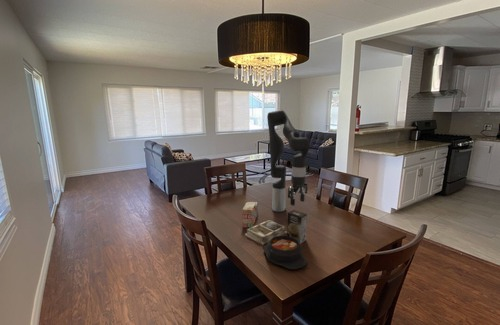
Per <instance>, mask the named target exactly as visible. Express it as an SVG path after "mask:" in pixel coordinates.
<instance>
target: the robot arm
mask: <svg viewBox="0 0 500 325" xmlns="http://www.w3.org/2000/svg"><path fill="white" fill-rule="evenodd" d="M266 119H267V126H268V133H269V154H270V177H271V178H273V179H280V180H278V181H274V182H272V195H271V196H272V198H271V199H272V200H271V201H272V202H271V204H272V205H271V206H272V207H271V209H272V211H274V212H277V213H278V212H280V213H281V212H284V211H285V210H286V209H287V207H286V206H287V201H286V200H287V198H288V199H290V205H291V206H293V207H294V206H295V204H296V203H295V202H296V197H297V196H298V194H299V195H300V197H299V200H300V202H303V203H304V202H305V196H306V194H308V183H307V182H306V180H307V179H306V173H307V169H306V165H307V164H306V163H307V156H308V154H309V152H310V151H309V150H310V146H311V142H310V140H309V138H308V137H301V136H300V132H298V130H296V128H295V127H294V126H293V124H292V123H291V121H290V119H289V117H288V115H287V114H286V111H284V110H283V109H278V110H273V111H269V112H267V118H266ZM282 125H283V128H282V134H283V136H284V137H285V139H286V140H287V141H288V145H289V149H290V150H291V151H293V152H299V153H297V154H295V155H293V156H292V160H291V161H292V162H291V163H292V164H291V165H292V166H291V177H290V178H291V181H290V182H291V185H292V186H289V187H288V189H287V197H286V178H287V167H286V165H282V164H280V165H277V164H276V163H277V162H278V160H279V159H280V158H281V157H282V155H283V153H284V150H285V148H284V146H285V144H284V140H283V139H282V137H281V136H280V135H279V134H278V133H277V131H276V129H275V128H276V127H277V126H278V127H279V126H282Z"/></svg>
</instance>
